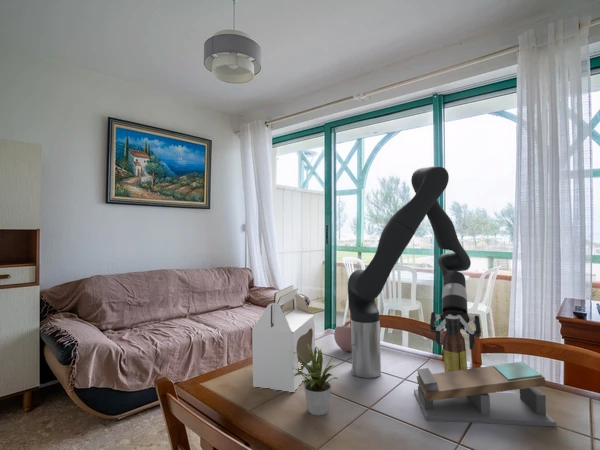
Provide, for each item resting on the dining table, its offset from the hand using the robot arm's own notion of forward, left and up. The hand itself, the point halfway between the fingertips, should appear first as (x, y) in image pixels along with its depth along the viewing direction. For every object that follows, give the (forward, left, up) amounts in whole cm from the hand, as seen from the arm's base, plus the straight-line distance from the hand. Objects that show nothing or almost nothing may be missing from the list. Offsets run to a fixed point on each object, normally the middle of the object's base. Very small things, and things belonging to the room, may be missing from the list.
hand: (455, 346), depth 101 cm
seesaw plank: (+1, -14, -5) cm, 15 cm away
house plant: (-41, -18, -11) cm, 46 cm away
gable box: (-52, +2, -12) cm, 53 cm away
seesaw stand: (+1, -14, -11) cm, 18 cm away
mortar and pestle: (-31, +26, -12) cm, 42 cm away
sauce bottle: (0, 0, -11) cm, 11 cm away
